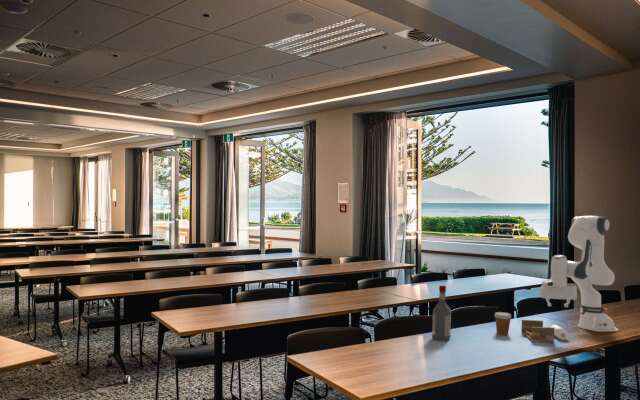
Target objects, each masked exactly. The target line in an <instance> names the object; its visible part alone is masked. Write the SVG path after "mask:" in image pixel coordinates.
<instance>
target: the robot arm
mask: <svg viewBox="0 0 640 400" xmlns="http://www.w3.org/2000/svg"><path fill="white" fill-rule="evenodd" d="M570 225H571V226H570V228H569V231H568V234H567V239H568V242H569V243H570V244H571V245H572V246H573V247H575V248H578V249H579V250H582V251H581V252H582V253H581V256H580V257H581V258H580V260H579V261H576V260H575V261H572V260H568V259H567V258H568V257H567V256H566V255H562V254H555V255H553V256H552V257H551V261H550V262H551V263H550V278H548V279H545V280H542V281H541V286H540V289H539V297H540V298H542V299H545V301H546V302H547V306H548V307H552V303H551V302H550V299H551V300H552V299H553V300H566V303H564V304H563V305H564V306H563V307H565V308H568V307H569V304H570V303H571V300H572V301H576V300H577V299H578V295H577V294H578V293H577V291H578V289H579V291H580V298H581V301H580V302H581V303H580V308H579V311H580V316H579V322H578V324H577V327H579V328H580V329H582V330H583V329H584V330H589V331H593V332H597V333H599V332H619V328H617V327H616V326H615V322H614V320H613V319H612V318H611V317H610V316H609V315H608V314H606V313H605V312H607V311H608V309H607V308H606V307H603V306H602V295H601V293H600V292H599V291H598V290H597V289H595V288H594V287H593V285H597V286H611V285H613V283H614V281H615V278H616V277H615V273H614V271H612V269H610V268H609V267H608V265H607V264H606V261H605V257H604V255H605V234H606V233H607V232H608V231H609V229H610V219H608V217H606V216H604V215H603V216H601V215H600V216H598V215H582V216H581V215H578V216H574V217H573V218H572V219H571V222H570ZM591 264H592V265H591ZM568 278H571V280H572V281H573V282H574V283H570V282H569V283H568Z"/></svg>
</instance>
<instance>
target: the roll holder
mask: <svg viewBox="0 0 640 400" xmlns="http://www.w3.org/2000/svg"><path fill="white" fill-rule="evenodd" d="M550 327H551V326H549V327H546V326H544V320H541V319H540V320H537V319H535V320H534V319H533V320H532V319H521V334H522V335H523V336H524V337H526V339H528V340H529V341H530V342H532V343H553V344H554V343H555V336H554V328H550Z"/></svg>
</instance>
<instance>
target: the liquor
mask: <svg viewBox="0 0 640 400" xmlns="http://www.w3.org/2000/svg"><path fill="white" fill-rule="evenodd" d="M446 290H447V285H439V286H438V291H439V292H438V293H439V295H438V297H439V298H438V303H437V304H436V306H435V307H434V308H433V309H432V327H431V328H432V330H431V337H432V339H433V340H435V341H440V342H448V341H449V340H450V339H451V327H452V325H451V323H452V322H451V320H452V310H451V307H450V306H449V305H448V304H447V302H446Z"/></svg>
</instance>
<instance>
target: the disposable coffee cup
mask: <svg viewBox="0 0 640 400" xmlns="http://www.w3.org/2000/svg"><path fill="white" fill-rule="evenodd" d="M511 318H512V315H511V313H509V312H502V311H497V312H495V313H494V319H495V328H496V334H497V335H501V336H508V335H509V330H510V324H511Z"/></svg>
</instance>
